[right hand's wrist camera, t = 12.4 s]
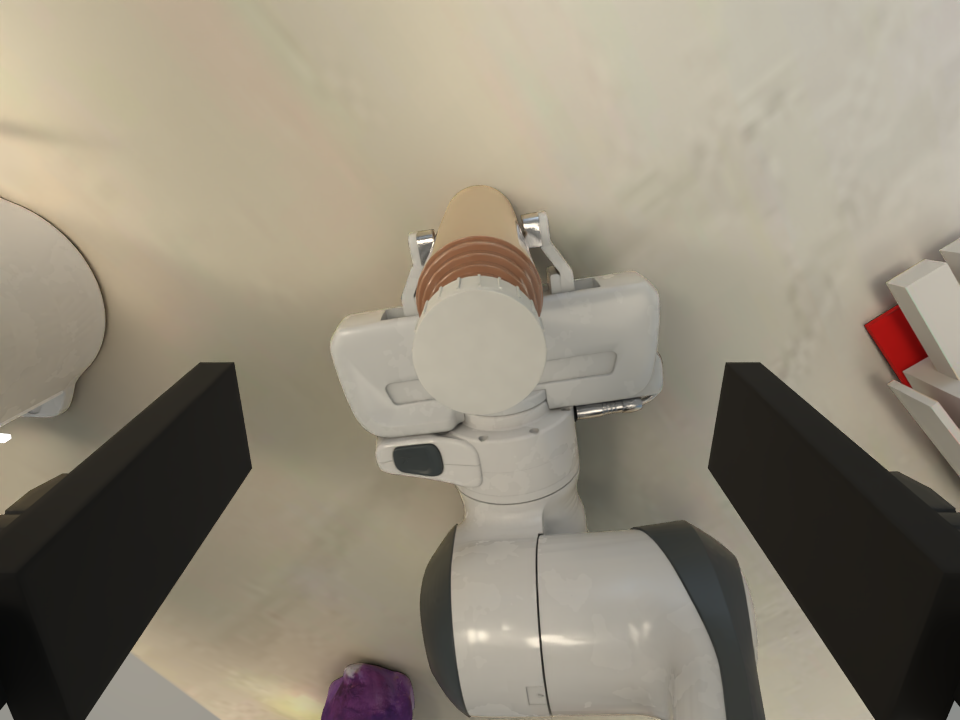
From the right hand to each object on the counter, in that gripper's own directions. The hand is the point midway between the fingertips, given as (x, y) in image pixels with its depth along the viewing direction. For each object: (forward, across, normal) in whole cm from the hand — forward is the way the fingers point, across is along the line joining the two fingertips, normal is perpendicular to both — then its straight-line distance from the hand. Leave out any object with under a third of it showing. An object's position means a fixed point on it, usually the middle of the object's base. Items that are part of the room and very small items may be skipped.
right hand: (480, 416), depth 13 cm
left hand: (+23, 0, -1) cm, 23 cm away
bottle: (+29, 0, 0) cm, 29 cm away
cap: (+4, 0, 0) cm, 4 cm away
